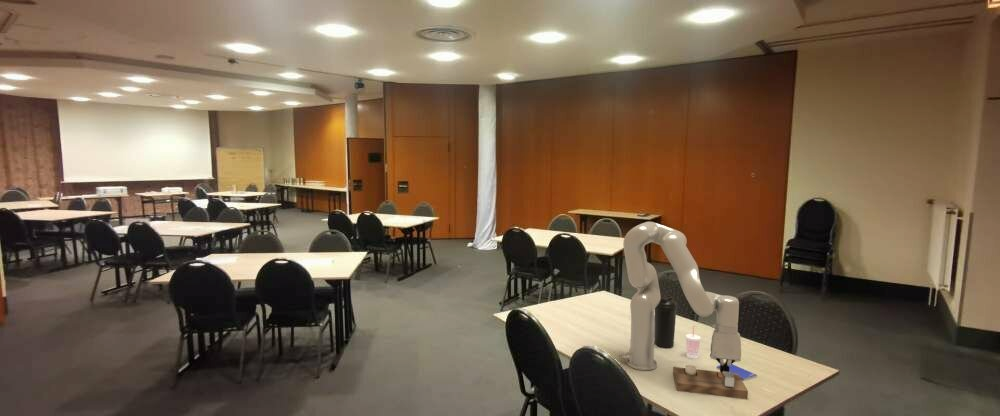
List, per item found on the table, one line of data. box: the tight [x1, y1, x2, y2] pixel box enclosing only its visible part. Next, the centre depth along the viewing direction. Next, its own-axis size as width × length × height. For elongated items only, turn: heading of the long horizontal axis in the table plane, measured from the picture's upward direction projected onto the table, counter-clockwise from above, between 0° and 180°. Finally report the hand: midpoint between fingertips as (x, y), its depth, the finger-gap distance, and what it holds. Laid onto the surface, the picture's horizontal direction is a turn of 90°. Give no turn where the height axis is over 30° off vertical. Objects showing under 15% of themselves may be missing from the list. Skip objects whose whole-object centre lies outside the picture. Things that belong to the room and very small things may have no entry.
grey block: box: [722, 371, 734, 387], centre depth 171 cm, size 3×5×4 cm, turn 165°
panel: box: [672, 366, 749, 400], centre depth 176 cm, size 24×14×3 cm, turn 75°
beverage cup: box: [685, 325, 702, 359], centre depth 202 cm, size 6×6×14 cm
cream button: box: [684, 364, 697, 375], centre depth 181 cm, size 4×4×3 cm
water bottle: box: [654, 294, 678, 349], centre depth 214 cm, size 10×10×23 cm
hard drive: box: [716, 363, 758, 382], centre depth 187 cm, size 2×8×12 cm
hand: (724, 374), depth 178 cm, fingers closed
